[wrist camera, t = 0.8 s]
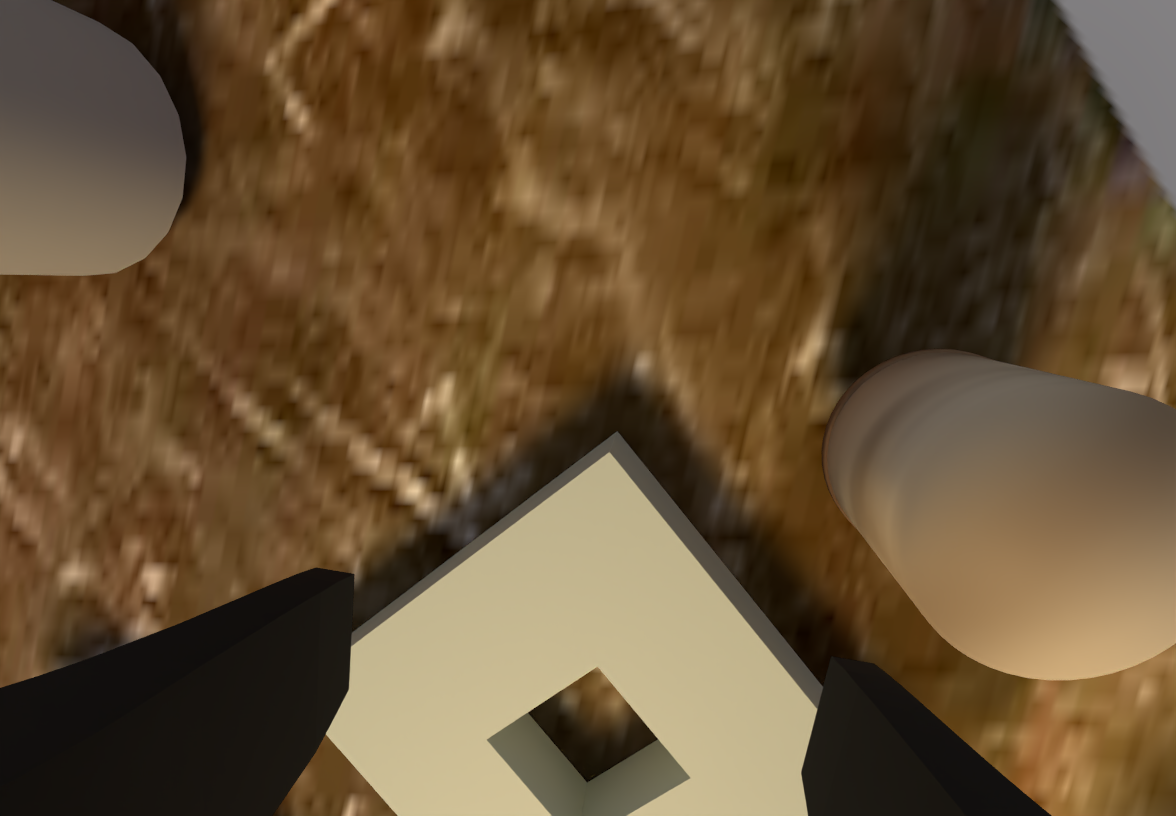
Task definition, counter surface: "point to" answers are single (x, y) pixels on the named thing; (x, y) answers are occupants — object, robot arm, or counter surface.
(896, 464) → the peg
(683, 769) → the board
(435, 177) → the counter surface
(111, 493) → the counter surface
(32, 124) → the can
